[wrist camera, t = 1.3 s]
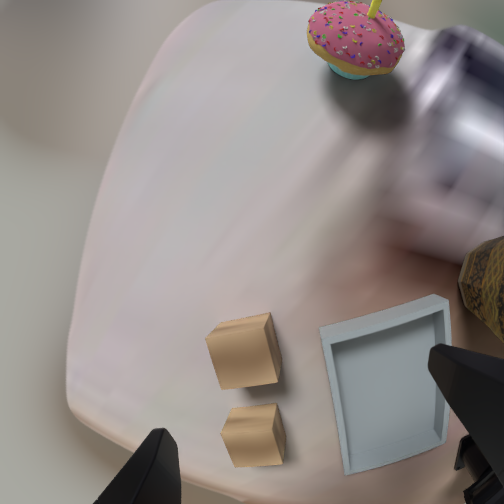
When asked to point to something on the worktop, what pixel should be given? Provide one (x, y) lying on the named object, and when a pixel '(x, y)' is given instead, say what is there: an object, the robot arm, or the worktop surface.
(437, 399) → the tray
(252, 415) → the block
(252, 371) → the block
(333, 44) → the cupcake
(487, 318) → the ceramic cup
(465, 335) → the worktop surface
